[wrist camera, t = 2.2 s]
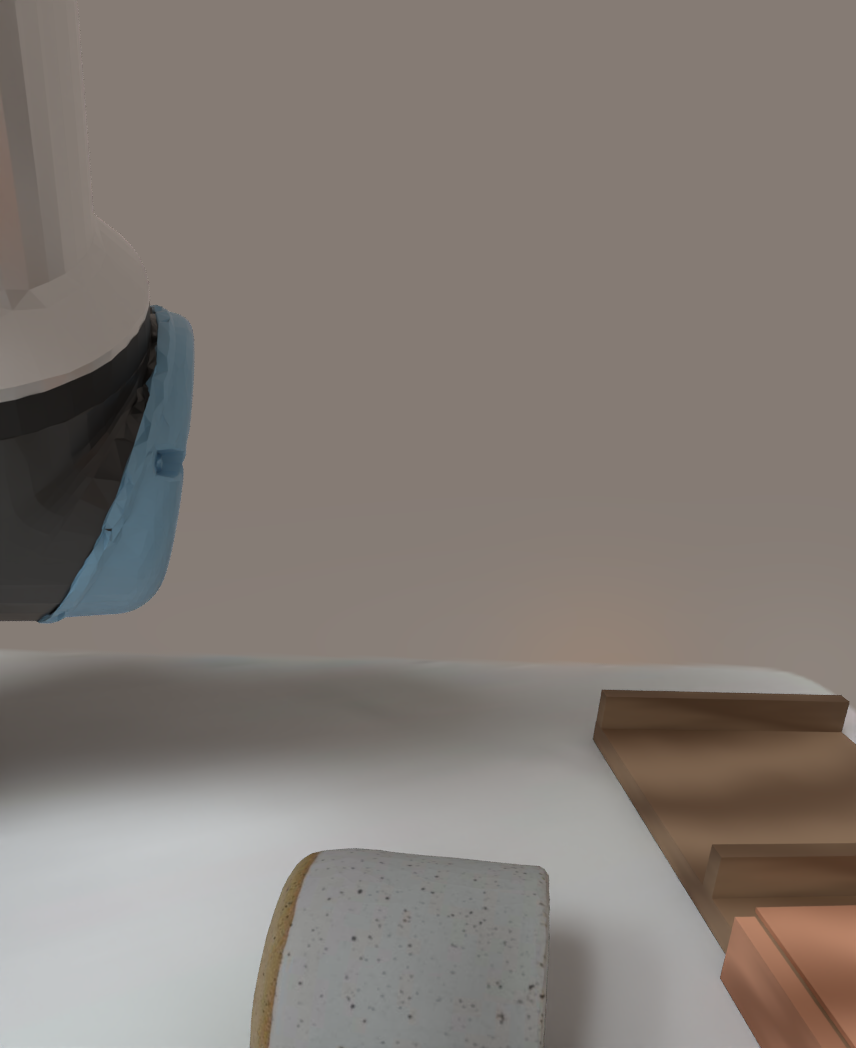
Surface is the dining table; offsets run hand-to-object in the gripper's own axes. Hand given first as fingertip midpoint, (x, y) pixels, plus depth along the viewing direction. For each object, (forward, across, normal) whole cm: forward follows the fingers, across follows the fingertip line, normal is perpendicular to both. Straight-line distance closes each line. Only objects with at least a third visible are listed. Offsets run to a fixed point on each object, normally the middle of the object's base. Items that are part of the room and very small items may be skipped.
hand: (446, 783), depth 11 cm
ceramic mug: (+9, 0, -18) cm, 20 cm away
